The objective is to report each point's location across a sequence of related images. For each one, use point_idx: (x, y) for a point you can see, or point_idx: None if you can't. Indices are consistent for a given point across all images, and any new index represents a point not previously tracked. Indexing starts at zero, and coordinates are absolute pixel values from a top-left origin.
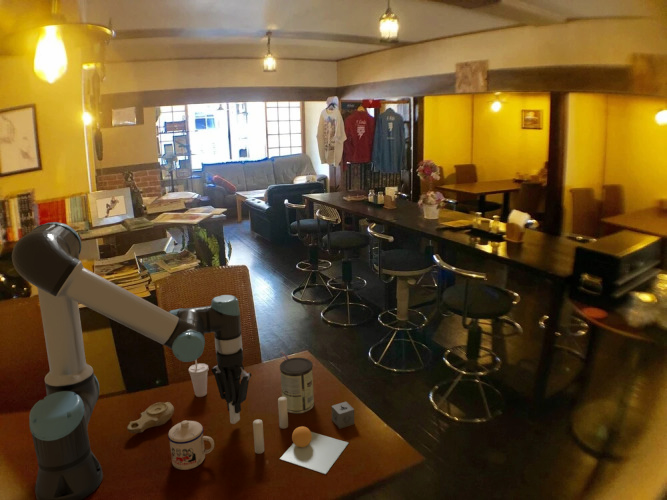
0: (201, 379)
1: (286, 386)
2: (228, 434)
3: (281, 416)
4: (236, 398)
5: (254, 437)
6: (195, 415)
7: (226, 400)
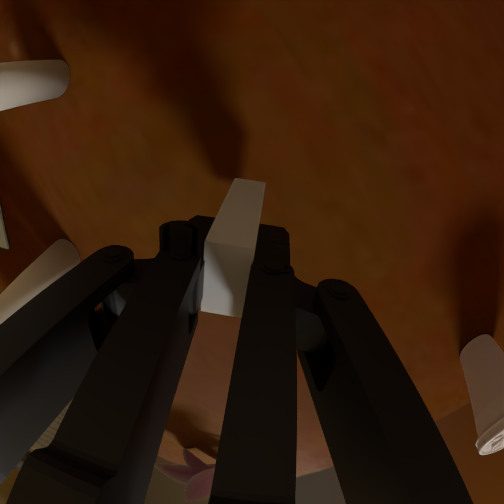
0: (496, 396)
1: (63, 413)
2: (252, 120)
3: (29, 268)
4: (142, 287)
5: (7, 62)
6: (477, 231)
7: (280, 267)
